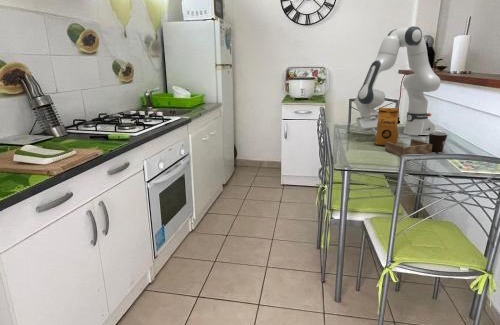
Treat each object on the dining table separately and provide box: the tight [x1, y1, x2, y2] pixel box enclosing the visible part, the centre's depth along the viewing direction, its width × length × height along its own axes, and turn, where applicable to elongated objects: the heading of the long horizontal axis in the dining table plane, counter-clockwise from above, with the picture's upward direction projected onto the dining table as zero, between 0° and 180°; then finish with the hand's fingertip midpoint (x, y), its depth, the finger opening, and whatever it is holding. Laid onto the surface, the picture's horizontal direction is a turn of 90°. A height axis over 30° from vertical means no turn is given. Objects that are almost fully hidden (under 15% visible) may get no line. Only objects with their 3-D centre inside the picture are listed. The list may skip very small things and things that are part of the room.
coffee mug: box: [428, 131, 448, 153], centre depth 178 cm, size 12×9×10 cm
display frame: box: [384, 138, 432, 157], centre depth 179 cm, size 18×14×5 cm
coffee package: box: [374, 106, 399, 146], centre depth 192 cm, size 10×12×22 cm
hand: (378, 135), depth 201 cm, fingers closed
